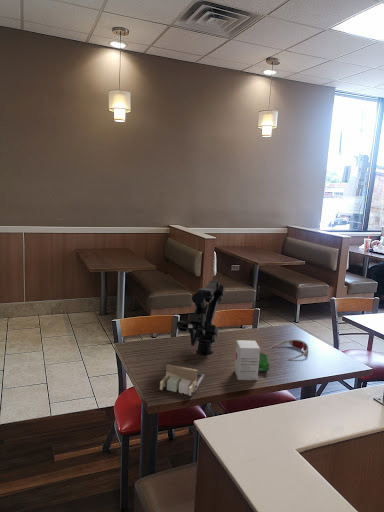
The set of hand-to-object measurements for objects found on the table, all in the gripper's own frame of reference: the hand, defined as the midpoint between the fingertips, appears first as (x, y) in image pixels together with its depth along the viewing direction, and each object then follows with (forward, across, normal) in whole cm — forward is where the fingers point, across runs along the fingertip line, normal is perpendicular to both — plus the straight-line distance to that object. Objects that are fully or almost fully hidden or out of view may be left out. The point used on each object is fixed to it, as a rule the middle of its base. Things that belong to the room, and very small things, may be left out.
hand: (192, 345), depth 177 cm
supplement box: (+5, +23, +15) cm, 28 cm away
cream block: (+21, +3, -4) cm, 21 cm away
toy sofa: (+21, 0, -5) cm, 22 cm away
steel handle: (+15, 0, +2) cm, 15 cm away
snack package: (-2, +27, +24) cm, 36 cm away
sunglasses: (-19, +38, +42) cm, 60 cm away
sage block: (+21, -2, -4) cm, 21 cm away
